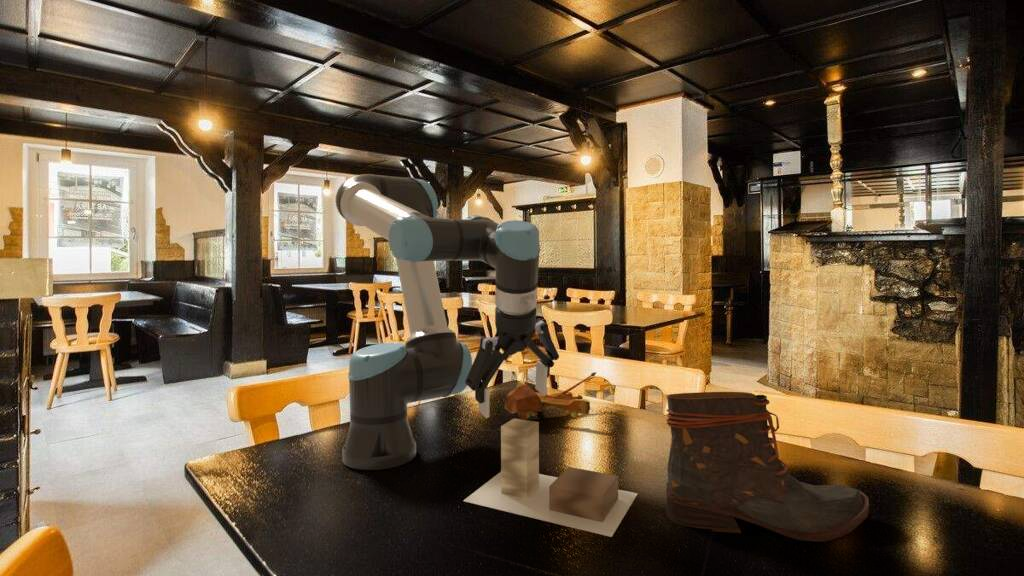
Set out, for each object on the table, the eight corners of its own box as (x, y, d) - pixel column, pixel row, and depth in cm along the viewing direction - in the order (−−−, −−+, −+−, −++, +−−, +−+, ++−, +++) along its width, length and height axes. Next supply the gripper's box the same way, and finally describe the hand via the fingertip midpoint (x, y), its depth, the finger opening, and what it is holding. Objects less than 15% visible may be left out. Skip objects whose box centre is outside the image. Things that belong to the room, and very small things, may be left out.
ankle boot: (891, 544, 76) (896, 408, 75) (675, 538, 78) (676, 406, 77) (846, 507, 88) (850, 388, 87) (658, 502, 90) (660, 387, 89)
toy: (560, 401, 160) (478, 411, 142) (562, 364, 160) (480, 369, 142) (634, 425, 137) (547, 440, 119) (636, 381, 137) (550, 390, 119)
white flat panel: (462, 502, 90) (462, 500, 90) (506, 469, 104) (506, 467, 104) (611, 539, 78) (611, 536, 78) (637, 495, 92) (637, 493, 92)
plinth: (549, 510, 86) (549, 486, 86) (568, 488, 94) (568, 466, 94) (602, 522, 82) (602, 497, 82) (618, 498, 90) (618, 475, 90)
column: (501, 493, 93) (500, 426, 92) (514, 482, 97) (513, 418, 96) (527, 498, 90) (526, 430, 90) (538, 487, 95) (538, 422, 94)
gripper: (466, 333, 86) (468, 435, 95) (581, 298, 99) (573, 391, 108) (445, 315, 92) (448, 413, 101) (556, 284, 105) (551, 374, 114)
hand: (513, 402), depth 104 cm, fingers open, 13 cm apart
